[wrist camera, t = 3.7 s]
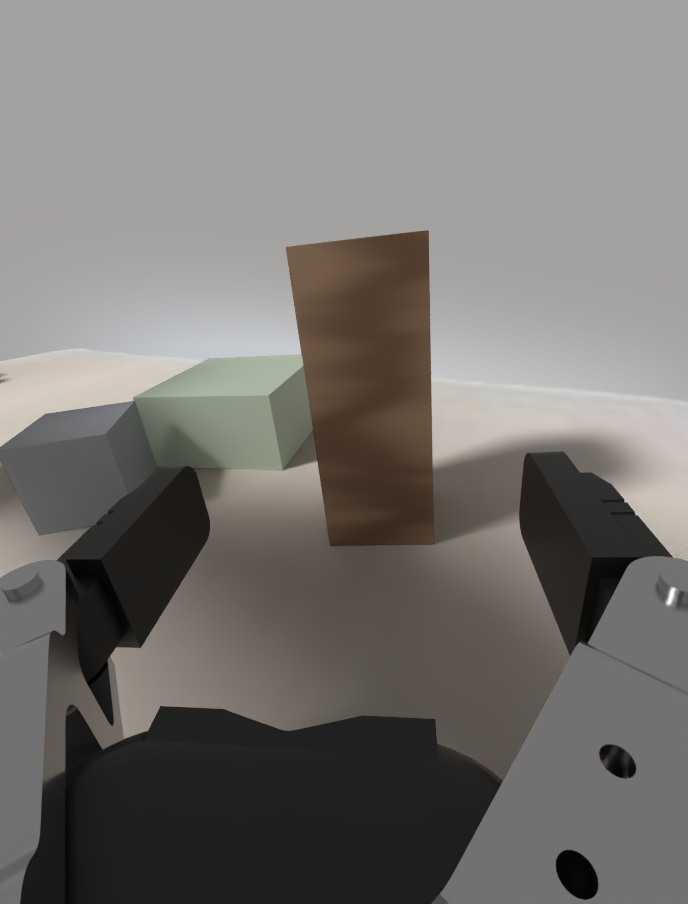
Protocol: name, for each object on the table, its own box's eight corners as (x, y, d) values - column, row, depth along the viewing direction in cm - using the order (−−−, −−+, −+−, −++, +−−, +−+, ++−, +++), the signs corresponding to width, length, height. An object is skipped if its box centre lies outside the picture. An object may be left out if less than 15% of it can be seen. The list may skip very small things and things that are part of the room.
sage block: (157, 469, 29) (133, 397, 26) (223, 417, 36) (208, 358, 34) (283, 473, 26) (268, 395, 24) (325, 417, 34) (317, 353, 32)
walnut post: (330, 545, 19) (285, 247, 14) (341, 491, 23) (310, 243, 18) (433, 544, 18) (428, 230, 13) (427, 488, 22) (421, 230, 17)
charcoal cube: (39, 536, 22) (-6, 450, 20) (78, 488, 27) (45, 414, 25) (138, 519, 23) (105, 434, 21) (160, 475, 27) (134, 400, 25)
